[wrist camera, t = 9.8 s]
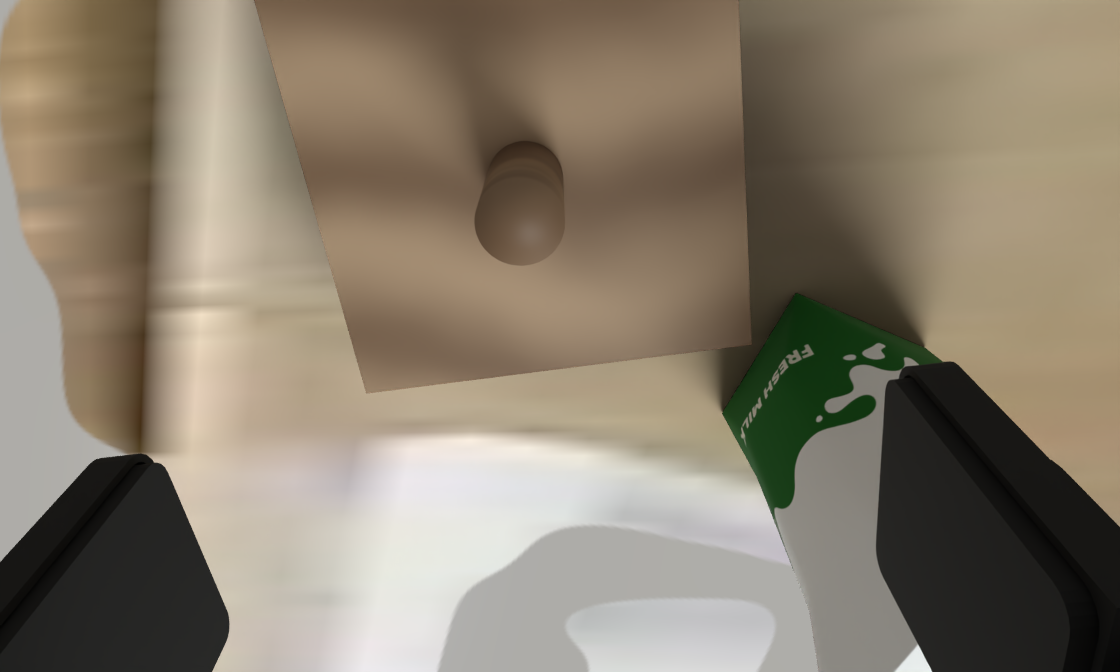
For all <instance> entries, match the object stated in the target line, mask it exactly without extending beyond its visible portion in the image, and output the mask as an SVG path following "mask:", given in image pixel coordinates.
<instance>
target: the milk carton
mask: <svg viewBox="0 0 1120 672" xmlns="http://www.w3.org/2000/svg"><path fill="white" fill-rule="evenodd" d="M940 362H942V361H941V360H940V359H939V358H937V357H936V356H935V355H933V354H932V353H931V352H930V351H928V350H927V349H926V348H924V347H921V346H919V345H917V344H914V343H912V342H910V341H907V340H905V339H903V338H900V337H898V336H896V335H893V334H891V333H889V332H886V331H884V330H882V329H879V328H877V327H875V326H872V325H870V324H868V323H865V322H863V321H861V320H858V319H856V318H854V317H851V316H849V315H847V314H844V313H842V312H840V311H837V310H835V309H833V308H830V307H828V306H826V305H823V304H821V303H819V302H816V301H814V300H812V299H809V298H807V297H805V296H802V295H800V294H798V293H796V294H795V295H794V297H793V299H792V300H791V302H790V304H789V305H788V307H787V308H786V310H785V312H784V313H783V315H782V317H781V318H780V320H779V322H778V323H777V325H776V326H775V328H774V330H773V331H772V333H771V335H770V336H769V338H768V339H767V341H766V343H765V344H764V346H763V348H762V349H761V351H760V353H759V354H758V356H757V357H756V359H755V361H754V362H753V364H752V366H751V367H750V369H749V370H748V372H747V374H746V375H745V377H744V379H743V380H742V382H741V384H740V385H739V387H738V388H737V390H736V392H735V393H734V395H733V397H732V398H731V400H730V401H729V403H728V405H727V406H726V408H725V410H724V411H723V413H722V414H723V416H724V418H725V420H726V421H727V423H728V425H729V427H730V429H731V431H732V432H733V434H734V436H735V438H736V440H737V442H738V443H739V445H740V447H741V449H742V451H743V453H744V454H745V456H746V458H747V460H748V462H749V464H750V465H751V467H752V469H753V471H754V473H755V475H756V476H757V479H758V481H759V484H760V486H761V489H762V491H763V494H764V496H765V499H766V501H767V504H768V506H769V509H770V511H771V514H772V516H773V519H774V522H775V524H776V527H777V529H778V532H779V534H780V537H781V539H782V542H783V545H784V547H785V550H786V552H787V555H788V557H789V560H790V563H791V565H792V568H793V570H794V573H795V575H796V578H797V581H798V583H799V585H800V588H801V591H802V593H803V596H804V598H805V601H806V604H807V606H808V609H809V612H810V619H811V625H812V631H813V638H814V644H815V651H816V658H817V664H818V671H819V672H932V670H931V668H930V666H929V665H928V663H927V661H926V659H925V657H924V655H923V653H922V651H921V649H920V647H919V645H918V643H917V642H916V640H915V638H914V636H913V634H912V632H911V630H910V628H909V626H908V624H907V622H906V620H905V619H904V617H903V615H902V613H901V611H900V609H899V607H898V605H897V603H896V601H895V599H894V598H893V596H892V594H891V592H890V590H889V588H888V586H887V584H886V582H885V580H884V578H883V576H882V574H881V572H880V568H879V565H878V561H877V556H876V532H877V516H878V500H879V483H880V467H881V450H882V434H883V417H884V401H885V389H886V385H887V382H888V381H889V380H893V379H899V375H900V372H901V370H902V369H903V368H904V367H905V366H914V365H923V364H932V363H940Z"/></svg>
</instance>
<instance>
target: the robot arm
mask: <svg viewBox="0 0 1120 672" xmlns="http://www.w3.org/2000/svg"><path fill="white" fill-rule="evenodd" d="M876 556H877V561H878V565H879V568H880V572H881V574H882V576H883V578H884V580H885V582H886V584H887V586H888V588H889V590H890V592H891V594H892V596H893V598H894V599H895V601H896V603H897V605H898V607H899V609H900V611H901V613H902V615H903V617H904V619H905V620H906V622H907V624H908V626H909V628H910V630H911V632H912V634H913V636H914V638H915V640H916V642H917V643H918V645H919V647H920V649H921V651H922V653H923V655H924V657H925V659H926V661H927V663H928V665H929V666H930V668H931V670H932V672H1120V527H1119V526H1118V525H1117V524H1116V523H1115V522H1114V521H1113V520H1112V519H1111V518H1110V517H1109V516H1108V515H1107V514H1106V513H1105V512H1104V511H1103V509H1102V508H1101V507H1100V506H1099V505H1098V504H1097V503H1096V502H1095V501H1094V500H1093V499H1092V498H1091V497H1090V496H1089V495H1088V494H1087V493H1086V492H1085V491H1084V490H1083V489H1082V488H1081V487H1080V486H1079V485H1078V484H1077V483H1076V482H1075V481H1074V480H1073V479H1072V478H1071V477H1070V476H1069V475H1068V474H1067V473H1066V472H1065V471H1064V470H1063V469H1062V468H1061V467H1060V466H1059V465H1057V464H1056V463H1055V462H1053V461H1052V460H1050V459H1049V458H1048V457H1047V456H1046V455H1045V454H1044V453H1043V452H1042V451H1041V450H1040V449H1039V448H1038V447H1037V446H1036V445H1035V443H1034V442H1033V441H1032V440H1031V439H1030V438H1029V437H1028V436H1027V435H1026V434H1025V433H1024V432H1023V431H1022V430H1021V429H1020V428H1019V427H1018V426H1017V425H1016V424H1015V423H1014V422H1013V421H1012V420H1011V419H1010V418H1009V417H1008V416H1007V415H1006V414H1005V413H1004V412H1003V411H1002V410H1001V409H1000V408H999V406H998V405H997V404H996V403H995V402H994V401H993V400H992V399H991V398H990V397H989V396H988V395H987V394H986V393H985V392H984V391H983V390H982V389H981V388H980V387H979V386H978V385H977V384H976V383H975V382H974V381H973V380H972V379H971V378H970V377H969V376H968V375H967V374H966V373H965V372H964V371H963V369H962V368H961V367H960V366H959V365H957V364H956V363H954V362H940V363H932V364H923V365H914V366H905V367H904V368H903V369H902V370H901V372H900V375H899V379H893V380H889V381H888V382H887V385H886V389H885V401H884V417H883V434H882V450H881V467H880V483H879V500H878V516H877V532H876ZM228 633H229V616H228V612H227V610H226V607H225V605H224V603H223V600H222V598H221V595H220V593H219V591H218V588H217V586H216V584H215V581H214V579H213V577H212V574H211V572H210V570H209V567H208V565H207V563H206V560H205V558H204V556H203V553H202V551H201V549H200V546H199V544H198V542H197V539H196V537H195V535H194V532H193V530H192V528H191V525H190V523H189V521H188V518H187V516H186V514H185V511H184V509H183V507H182V504H181V502H180V500H179V497H178V495H177V493H176V490H175V488H174V486H173V483H172V481H171V479H170V476H169V474H168V472H167V470H166V468H165V467H164V466H163V465H162V464H159V463H154V462H153V460H152V459H151V458H150V457H148V456H147V455H144V454H133V455H124V456H115V457H107V458H100V459H96V460H94V461H93V462H92V463H90V464H89V465H88V466H87V468H86V469H85V470H84V471H83V472H82V473H81V474H80V475H79V476H78V477H77V479H76V480H75V481H74V482H73V483H72V484H71V485H70V486H69V487H68V488H67V489H66V491H65V492H64V493H63V494H62V495H61V496H60V497H59V498H58V499H57V500H56V502H55V503H54V504H53V505H52V506H51V507H50V508H49V509H48V510H47V511H46V512H45V514H44V515H43V516H42V517H41V518H40V519H39V520H38V521H37V522H36V524H35V525H34V526H33V527H32V528H31V529H30V530H29V531H28V532H27V533H26V534H25V536H24V537H23V538H22V539H21V540H20V541H19V542H18V543H17V544H16V545H15V547H14V548H13V549H12V550H11V551H10V552H9V553H8V554H7V555H6V556H5V557H4V559H3V560H2V561H1V562H0V672H212V670H213V668H214V666H215V664H216V662H217V660H218V658H219V656H220V654H221V652H222V650H223V647H224V645H225V643H226V641H227V638H228Z"/></svg>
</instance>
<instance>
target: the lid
mask: <svg viewBox="0 0 1120 672" xmlns="http://www.w3.org/2000/svg"><path fill="white" fill-rule="evenodd" d="M254 1H255V5H256V8H257V12H258V15H259V19H260V22H261V26H262V29H263V33H264V36H265V40H266V43H267V47H268V50H269V54H270V57H271V61H272V64H273V68H274V71H275V75H276V78H277V82H278V85H279V89H280V92H281V96H282V99H283V103H284V106H285V110H286V113H287V117H288V120H289V124H290V127H291V131H292V134H293V138H294V141H295V145H296V148H297V152H298V155H299V159H300V162H301V166H302V170H303V173H304V177H305V180H306V184H307V187H308V191H309V194H310V198H311V201H312V205H313V208H314V212H315V215H316V219H317V222H318V226H319V229H320V233H321V236H322V240H323V243H324V247H325V250H326V254H327V257H328V261H329V264H330V268H331V271H332V275H333V278H334V282H335V285H336V289H337V292H338V296H339V299H340V303H341V306H342V310H343V313H344V317H345V320H346V324H347V327H348V331H349V334H350V338H351V341H352V345H353V348H354V352H355V355H356V359H357V362H358V366H359V369H360V373H361V376H362V380H363V383H364V387H365V390H366V393H374V392H382V391H390V390H398V389H406V388H413V387H421V386H429V385H437V384H445V383H453V382H461V381H469V380H477V379H484V378H492V377H500V376H508V375H516V374H524V373H532V372H540V371H548V370H555V369H563V368H571V367H579V366H587V365H595V364H603V363H611V362H619V361H627V360H634V359H642V358H650V357H658V356H666V355H674V354H682V353H690V352H698V351H705V350H713V349H721V348H729V347H737V346H745V345H752V339H751V313H750V287H749V261H748V234H747V208H746V182H745V155H744V129H743V103H742V77H741V50H740V24H739V0H254Z"/></svg>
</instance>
